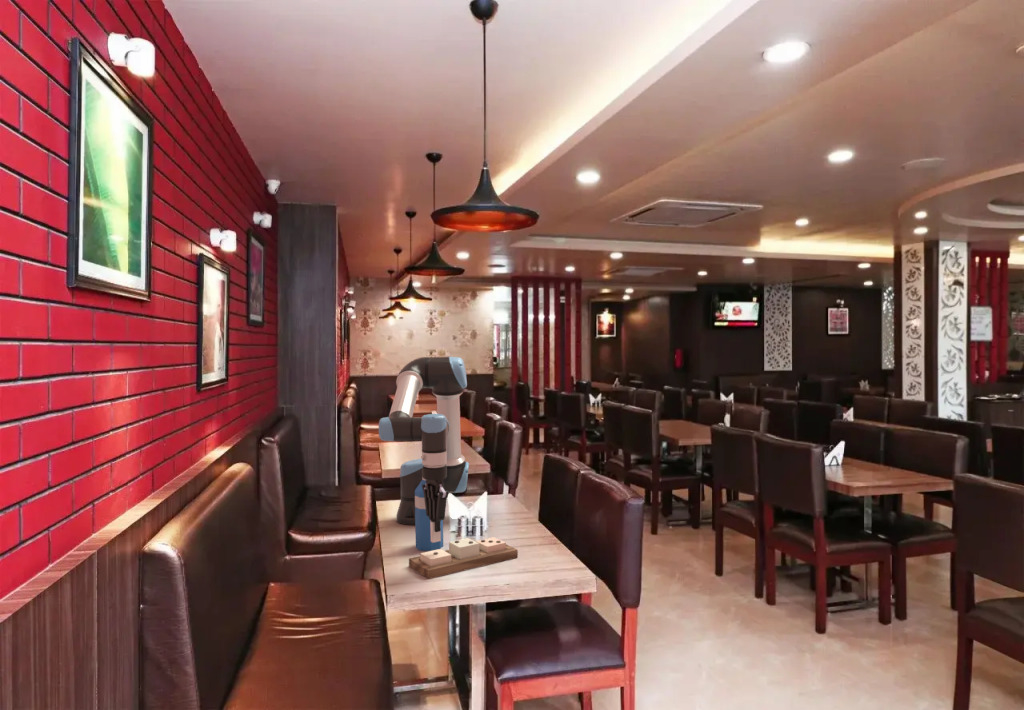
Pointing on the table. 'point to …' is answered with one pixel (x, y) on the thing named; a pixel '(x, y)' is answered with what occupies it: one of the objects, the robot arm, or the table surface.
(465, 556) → the tile two
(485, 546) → the tile three
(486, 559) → the wooden dice tray
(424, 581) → the table surface
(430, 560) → the tile one
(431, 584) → the table surface
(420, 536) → the water bottle
